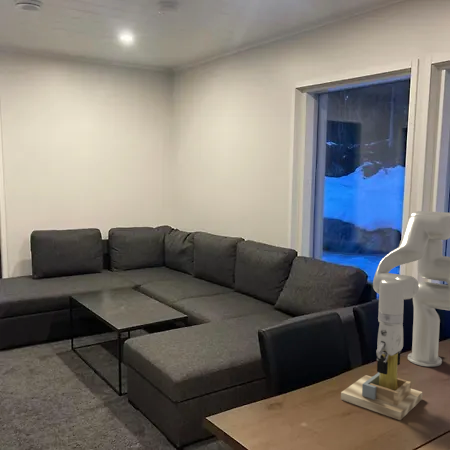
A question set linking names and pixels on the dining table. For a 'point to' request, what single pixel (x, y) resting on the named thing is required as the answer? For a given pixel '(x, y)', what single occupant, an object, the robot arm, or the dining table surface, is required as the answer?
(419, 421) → the dining table surface
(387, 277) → the robot arm
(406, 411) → the board
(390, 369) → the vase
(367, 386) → the grey bracket
